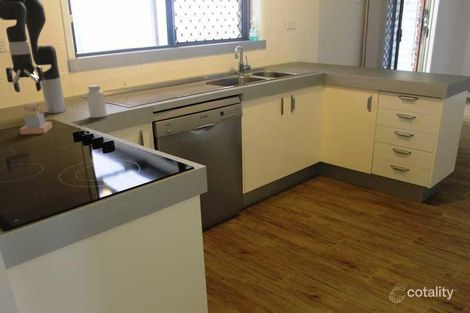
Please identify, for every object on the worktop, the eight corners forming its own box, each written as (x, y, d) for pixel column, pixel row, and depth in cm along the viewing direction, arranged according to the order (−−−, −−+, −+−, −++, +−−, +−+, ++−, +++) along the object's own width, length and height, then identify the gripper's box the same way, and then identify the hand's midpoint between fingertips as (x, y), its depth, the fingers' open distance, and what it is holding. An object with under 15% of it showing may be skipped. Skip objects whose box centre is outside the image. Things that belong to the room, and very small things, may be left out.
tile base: (29, 128, 189) (28, 122, 188) (52, 126, 189) (51, 121, 188) (20, 134, 179) (19, 129, 178) (44, 133, 180) (43, 127, 179)
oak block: (30, 114, 184) (27, 103, 182) (41, 113, 184) (39, 102, 183) (25, 117, 179) (23, 105, 178) (37, 116, 180) (35, 105, 178)
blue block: (31, 123, 186) (29, 113, 184) (45, 123, 186) (43, 113, 185) (26, 127, 180) (24, 117, 179) (40, 126, 181) (38, 116, 179)
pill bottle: (108, 113, 209) (104, 83, 204) (104, 117, 202) (99, 87, 196) (92, 114, 209) (88, 84, 204) (87, 118, 201) (82, 87, 196)
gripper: (41, 50, 176) (48, 88, 182) (6, 52, 175) (15, 90, 181) (34, 53, 169) (42, 92, 175) (-2, 54, 168) (7, 94, 174)
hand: (28, 91), depth 178 cm, fingers open, 8 cm apart
